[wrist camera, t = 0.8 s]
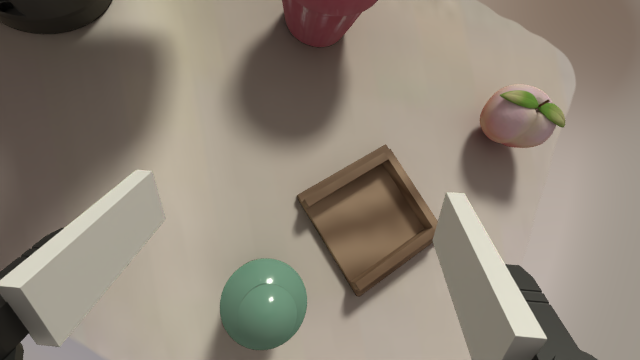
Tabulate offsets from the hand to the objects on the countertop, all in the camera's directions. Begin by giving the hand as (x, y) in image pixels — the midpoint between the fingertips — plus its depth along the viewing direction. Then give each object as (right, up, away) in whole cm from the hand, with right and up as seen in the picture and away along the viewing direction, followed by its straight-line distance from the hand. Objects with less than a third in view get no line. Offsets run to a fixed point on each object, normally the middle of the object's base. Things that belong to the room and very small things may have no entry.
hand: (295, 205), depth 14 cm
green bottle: (-6, -11, +21) cm, 25 cm away
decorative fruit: (+27, +9, +33) cm, 44 cm away
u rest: (+8, -3, +26) cm, 27 cm away
